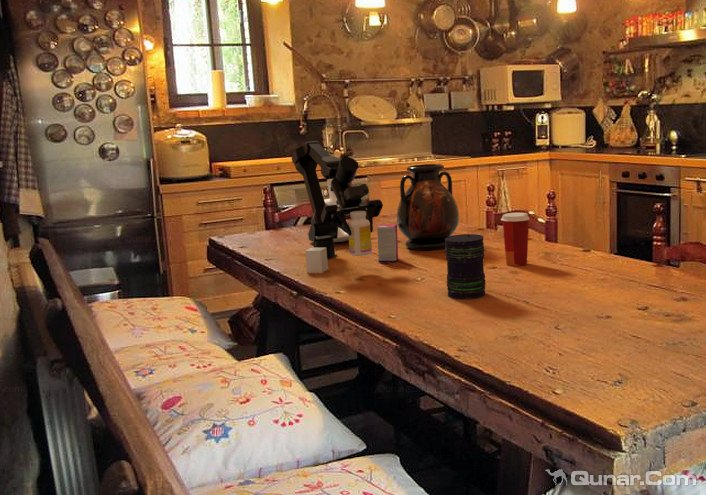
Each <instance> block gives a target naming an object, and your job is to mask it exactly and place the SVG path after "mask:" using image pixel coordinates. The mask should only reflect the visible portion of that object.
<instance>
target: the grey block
mask: <svg viewBox="0 0 706 495" xmlns="http://www.w3.org/2000/svg"><path fill="white" fill-rule="evenodd" d="M304 252H305V253H304V254H305V264H306V266H305V267H306V274H323V273H325V272H327V270H329V265H328V264H329V263H328V259H327V250H326V247H323V248H314V247H310V248H308V249H305V250H304Z"/></svg>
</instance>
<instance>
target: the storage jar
mask: <svg viewBox="0 0 706 495" xmlns="http://www.w3.org/2000/svg"><path fill="white" fill-rule="evenodd" d="M445 242H446V244H445V247H446V248H444V249H445V250H444V251H445V260H446V267H447V269H446V270H447V273H446V287H447V297H448V298H449V299H454V300H459V301H460V300H462V301H465V300H466V301H467V300H469V301H470V300H476V299H480V298H484V297H485V296H486V274H485V272H484V271H485V268H484V267H485V266H484V259H485V246H484V245H485V244H484V235H481V234H475V233H474V234H472V233H470V234H469V233H468V234H467V233H466V234H465V233H463V234H452V235H451V236H448V237H446V238H445Z"/></svg>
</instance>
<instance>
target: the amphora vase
mask: <svg viewBox="0 0 706 495" xmlns="http://www.w3.org/2000/svg"><path fill="white" fill-rule="evenodd" d="M444 169H445V166H444V164H442V163H427V164H426V163H425V164H415V165H414V164H413V165H409V166H407V167H406V171H407V172H409V173H411V175H412V176H411V175H410V174H406V175H404V176H402V177H401V179H400V181H399V183H400V184H399V194H400V200H399V203H398V206H397V212H396V223H397V224H396V225H397V228H398V229H399V231H400V232H401V234H402V235H403V236H405V238H407V240H406V241H405V246H406V247H407V248H408V249H411V250H417V251H433V250H441V249H445V248H446V247H445V244H446V242H445V238H446V237H448V236H453V235H454V234H453V233H455V231H456V230H457V229H458V225H459V223H460V213H459V207H458V205H457V202H456V199H455V197H454V196H453V180H452V176H451V175H450V173H449V172H448V171H442V170H444ZM440 171H441V172H440ZM443 176H444V177H446V181H447V187H446V186H444V184H443V183H442V182H441V181H442V177H443ZM407 179H408V180H409V181H410V183H411V184H410V186H409V187H408V188H407V190H406V191H405V184H406V181H407Z"/></svg>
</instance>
